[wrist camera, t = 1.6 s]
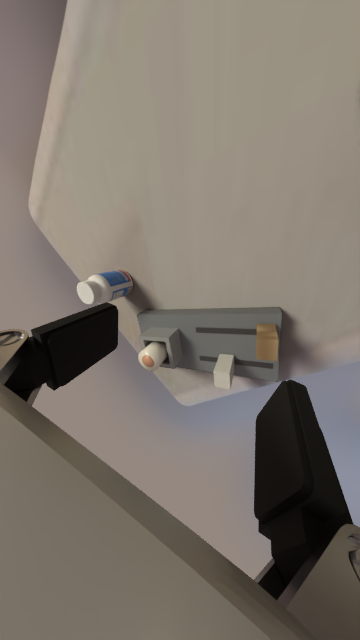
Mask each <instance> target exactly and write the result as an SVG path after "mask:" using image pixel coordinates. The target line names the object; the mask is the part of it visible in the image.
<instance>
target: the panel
mask: <svg viewBox="0 0 360 640" xmlns="http://www.w3.org/2000/svg"><path fill="white" fill-rule="evenodd" d="M137 318H138V322H139V326H140V330H141V333H142V334H141V335H140V336H139V339H140V343H141V346H142V350H144V349H145V348H146V347H147V346H148V345H149V344H150V343H151V342H153V341H162V342H164V343H165V344H166V347H167V352H168V356H167V357H166V359H165V360H164V361H163V362H162V363H161V364H160V366H159V367H165V368H172V369H175V368H176V367H180V368H187V369H194V370H201V371H208V372H213V371H214V368H215V366H216V363H217V360H218V357H219V355H220V354H228V355H234V374H233V375H235V376H242V377H249V378H256V379H263V380H269V381H276V382H278V370H279V354H280V337H281V320H282V312H281V310H280V307H264V308H219V309H175V310H144V311H143V312H141V313H139V314H137ZM257 324H275V326H276V331H277V335H278V358H277V361H270V360H260V359H256V336H257Z"/></svg>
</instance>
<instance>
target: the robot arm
mask: <svg viewBox="0 0 360 640" xmlns="http://www.w3.org/2000/svg"><path fill="white" fill-rule="evenodd" d="M31 332H32V335H33V336H32V337H30V338H29V336H28V333H27V332H26V331H24V330H20V329H9V330H3V331H0V640H360V527H358V526H356V525H353V522H352V519H351V516H350V513H349V510H348V507H347V504H346V501H345V499H344V495H343V493H342V489H341V486H340V484H339V480H338V477H337V474H336V472H335V469H334V466H333V463H332V460H331V457H330V454H329V451H328V448H327V445H326V442H325V439H324V436H323V433H322V431H321V429H320V427H319V424H318V421H317V418H316V415H315V412H314V409H313V407H312V403H311V400H310V397H309V394H308V391H307V388H306V387H305V386H304V385H302V384H300V383H297V382H295V381H293V380H288V381H282V382H281V384H280V385H279V387H278V388H277V389H276V391H275V392H274V394H273V395H272V396H271V398H270V399H269V400H268V402H267V403H266V405H265V406H264V407H263V409H262V410H261V412H260V413H259V414H258V416H257V419H256V442H255V490H254V513H255V517H256V518H257V519H258V520H259V532H260V533H261V534H262V535H264V536H265V537H267V538H268V539H270V540H271V553H272V557H273V558H272V559H271V561H270V562H269V563H268V564H267V565H266V566H265V567H264V569H263V570H262V571H261V572H260V573H259V574H258V576H257V577H256V578H255V579H254V580H253V579H251V578H250V577H249V576H248V575H246V574H245V573H244V572H243V571H242V570H240V569H239V568H238V567H237V566H235V565H234V564H233V563H232V562H230V561H229V560H228V559H227V558H225V557H224V556H223V555H222V554H220V553H219V552H218V551H217V550H216V549H214V548H213V547H212V546H211V545H209V544H208V543H207V542H206V541H204V540H203V539H202V538H201V537H200V536H198V535H197V534H196V533H195V532H193V531H192V530H191V529H189V528H188V527H187V526H185V525H184V524H183V523H182V522H181V521H179V520H178V519H177V518H175V517H174V516H173V515H172V514H170V513H169V512H168V511H166V510H165V509H164V508H162V507H161V506H160V505H159V504H157V503H156V502H155V501H154V500H152V499H151V498H150V497H148V496H147V495H146V494H145V493H143V492H142V491H141V490H139V489H138V488H137V487H136V486H134V485H133V484H132V483H130V482H129V481H128V480H127V479H125V478H124V477H123V476H122V475H120V474H119V473H118V472H116V471H115V470H114V469H112V468H111V467H110V466H108V465H107V464H106V463H105V462H103V461H102V460H101V459H99V458H98V457H97V456H96V455H94V454H93V453H92V452H90V451H89V450H88V449H87V448H85V447H84V446H83V445H81V444H80V443H79V442H77V441H76V440H75V439H74V438H72V437H71V436H70V435H68V434H67V433H66V432H64V431H63V430H62V429H61V428H59V427H58V426H57V425H55V424H54V423H53V422H51V421H50V420H49V419H48V418H46V417H45V416H44V415H42V414H41V413H40V412H38V411H37V410H36V409H34V408H33V407H32V404H33V403H34V400H35V399H36V397H37V394H38V392H39V390H40V388H41V386H42V384H44V383H45V382H46V384H47V386H48V387H50V388H51V389H53V390H56V389H57V388H59V387H60V386H64V385H66V384H67V383H69V382H70V381H71V380H73V379H74V378H75V377H77V376H78V375H80V374H81V373H82V372H84V371H85V370H87V369H88V368H90V367H91V366H92V365H94V364H95V363H97V362H98V361H99V360H101V359H102V358H104V357H105V356H106V355H108V354H109V353H111V352H112V351H114V350H115V349H116V347H117V345H118V310H117V307H116V306H115V305H112V304H110V303H103V304H100V305H98V306H95V307H92V308H89V309H87V310H84V311H81V312H78V313H76V314H73V315H70V316H67V317H65V318H62V319H59V320H57V321H54V322H51V323H48V324H45V325H43V326H40V327H37V328H34V329H32V330H31Z"/></svg>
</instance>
